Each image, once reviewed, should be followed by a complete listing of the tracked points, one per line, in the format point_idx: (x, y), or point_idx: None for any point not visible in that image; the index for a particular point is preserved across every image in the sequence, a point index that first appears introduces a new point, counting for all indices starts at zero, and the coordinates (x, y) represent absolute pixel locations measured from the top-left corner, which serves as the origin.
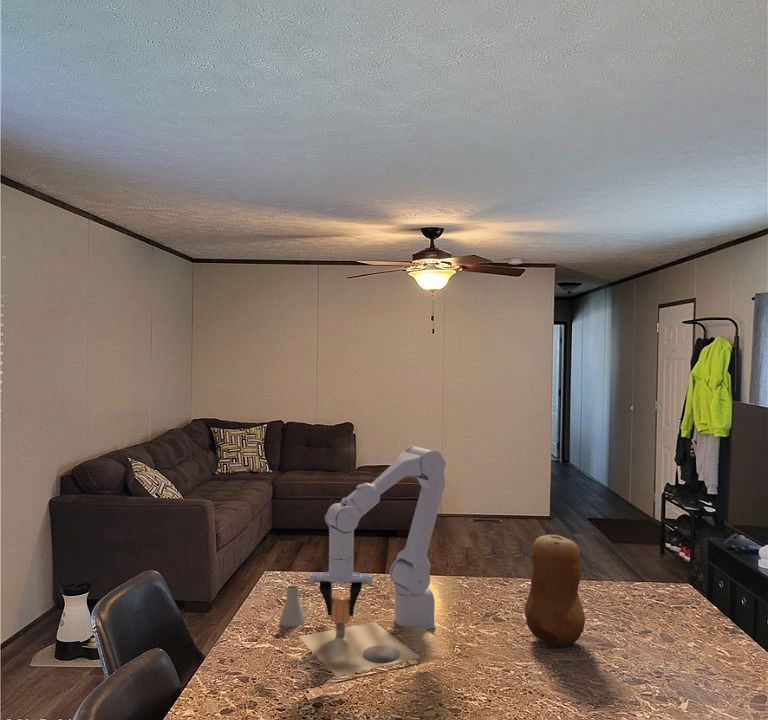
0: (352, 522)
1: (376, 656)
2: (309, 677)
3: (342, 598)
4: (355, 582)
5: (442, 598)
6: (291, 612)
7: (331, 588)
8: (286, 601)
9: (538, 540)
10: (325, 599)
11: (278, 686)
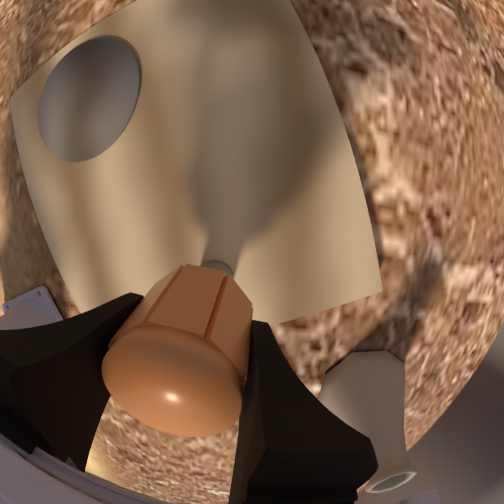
0: None
1: (99, 70)
2: (350, 13)
3: (155, 388)
4: (7, 438)
5: None
6: (386, 404)
7: (234, 478)
8: (404, 436)
9: None
10: (298, 385)
11: (428, 4)
